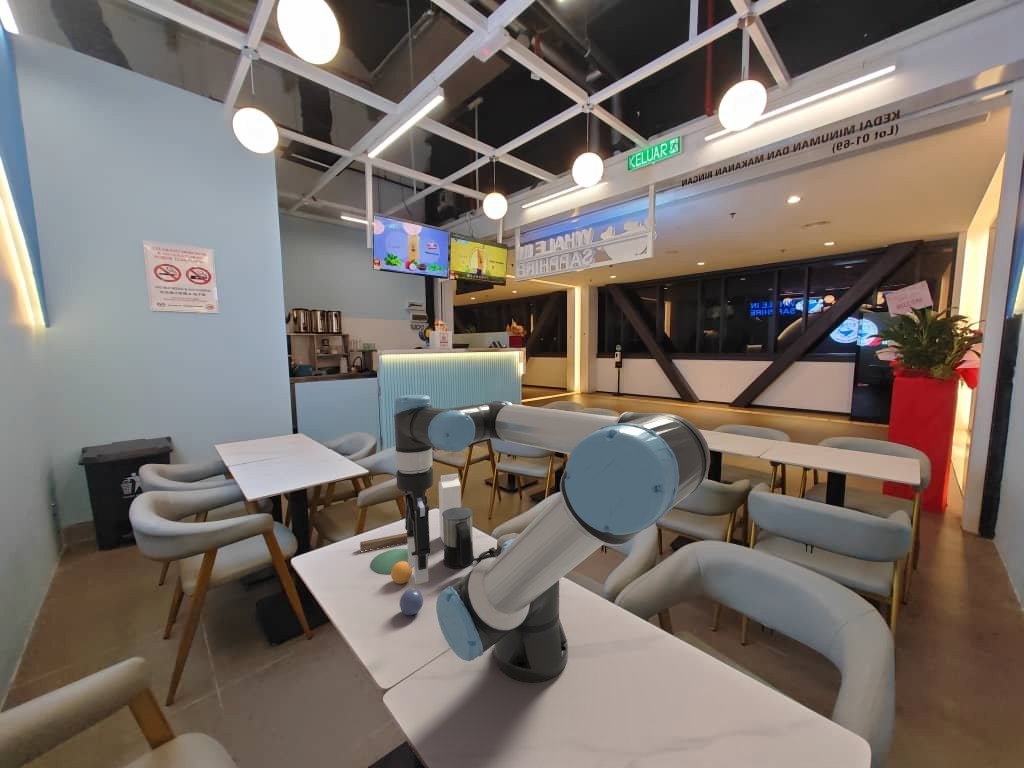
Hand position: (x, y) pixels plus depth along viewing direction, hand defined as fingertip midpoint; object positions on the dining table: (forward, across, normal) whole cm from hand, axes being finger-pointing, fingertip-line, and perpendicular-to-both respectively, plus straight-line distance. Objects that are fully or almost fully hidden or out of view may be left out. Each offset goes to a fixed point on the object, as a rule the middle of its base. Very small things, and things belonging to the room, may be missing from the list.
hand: (418, 573), depth 85 cm
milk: (+15, +42, -19) cm, 49 cm away
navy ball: (+12, +10, 0) cm, 15 cm away
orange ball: (+12, +24, 0) cm, 26 cm away
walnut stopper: (+15, +46, 0) cm, 49 cm away
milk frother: (+15, +26, -21) cm, 37 cm away
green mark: (+15, +36, 0) cm, 39 cm away
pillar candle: (+15, +6, -26) cm, 31 cm away
